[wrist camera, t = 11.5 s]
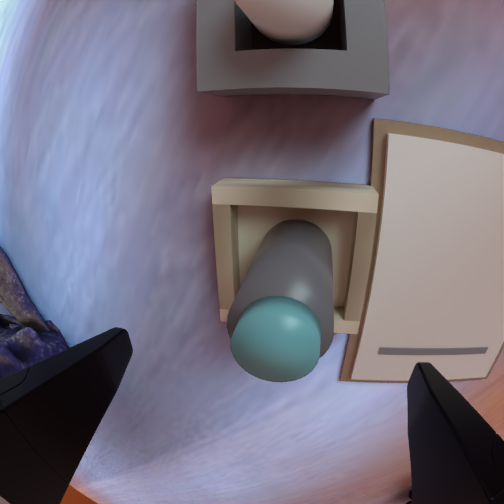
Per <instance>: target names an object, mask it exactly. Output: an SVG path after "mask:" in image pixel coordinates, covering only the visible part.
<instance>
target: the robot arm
mask: <svg viewBox="0 0 504 504" xmlns="http://www.w3.org/2000/svg"><path fill="white" fill-rule="evenodd" d="M132 352H133V349H132V345H131V341H130V338H129V335H128V332H127V330H125V329H122V328H118V327H115V328H112V329H110V330H108V331H106V332H104V333H101V334H99V335H97V336H95V337H93V338H90V339H88V340H86V341H84V342H82V343H80V344H77V345H75V346H73V347H71V348H69V349H66V350H64V351H62V352H60V353H58V354H55V355H53V356H51V357H49V358H47V359H44V360H42V361H40V362H38V363H35V364H33V365H31V367H30V366H29V367H26V368H24V369H22V370H20V371H17V372H15V373H13V374H10V375H8V376H5V377H2V378H0V504H60V503H61V500H62V498H63V496H64V494H65V492H66V490H67V488H68V485H69V483H70V481H71V479H72V477H73V475H74V473H75V471H76V469H77V467H78V465H79V463H80V461H81V459H82V457H83V455H84V453H85V451H86V449H87V447H88V445H89V443H90V441H91V439H92V437H93V435H94V433H95V431H96V429H97V427H98V426H99V424H100V422H101V420H102V418H103V416H104V414H105V412H106V410H107V409H108V407H109V405H110V403H111V401H112V399H113V397H114V395H115V394H116V392H117V389H118V387H119V385H120V382H121V380H122V378H123V375H124V373H125V370H126V368H127V366H128V363H129V361H130V358H131V356H132ZM407 398H408V439H409V450H410V461H411V476H412V496H413V504H504V441H503V439H502V438H501V437H500V436H499V435H498V434H496V432H495V431H494V430H493V428H492V427H491V426H490V425H489V424H488V423H487V422H486V421H485V420H484V419H483V417H482V416H481V415H480V414H479V413H478V412H477V411H476V410H475V409H474V408H473V407H472V406H471V405H470V403H469V402H468V401H467V400H466V399H465V398H464V397H463V396H462V395H461V394H460V393H459V392H458V391H457V390H456V389H455V388H454V387H453V386H452V385H451V384H450V382H449V381H448V380H447V379H446V378H445V377H444V376H443V375H442V374H441V373H440V372H439V371H438V370H437V369H436V368H435V367H434V366H433V365H432V364H431V363H429V362H418V363H416V365H415V366H414V369H413V371H412V374H411V376H410V379H409V381H408V385H407Z"/></svg>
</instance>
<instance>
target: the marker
mask: <svg viewBox="0 0 504 504" xmlns="http://www.w3.org/2000/svg"><path fill="white" fill-rule="evenodd" d="M227 329H228V333H229V336H230V338H231V351H232V354H233V356H234V358H235V360H236V361H237V363H238V364H239V365H240V366H241V367H242V368H243V369H244V370H245V371H247V372H248V373H250V374H251V375H253V376H255V377H258V378H260V379H263V380H267V381H272V382H288V381H293V380H297V379H300V378H302V377H304V376H306V375H307V374H309V373H310V372H311V371H312V370H313V369H314V368H315V366H316V365H317V363H318V360H319V358H321V357H322V356H323V355H324V354H325V353H326V351H327V350H328V349H329V347H330V345H331V343H332V340H333V336H334V291H333V262H332V247H331V243H330V241H329V239H328V237H327V235H326V234H325V233H324V231H323V230H322V229H321V228H319V227H318V226H317V225H315V224H313V223H311V222H309V221H306V220H301V219H290V220H285V221H282V222H280V223H278V224H276V225H275V226H273V227H272V228H271V229H270V230H269V231H268V232H267V234H266V235H265V237H264V239H263V241H262V244H261V246H260V248H259V250H258V252H257V254H256V256H255V258H254V260H253V262H252V264H251V266H250V268H249V270H248V272H247V274H246V276H245V278H244V280H243V282H242V285H241V287H240V289H239V291H238V293H237V295H236V297H235V299H234V301H233V303H232V305H231V307H230V309H229V312H228V315H227Z"/></svg>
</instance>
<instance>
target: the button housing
mask: <svg viewBox="0 0 504 504" xmlns="http://www.w3.org/2000/svg"><path fill="white" fill-rule="evenodd" d="M339 13H340V29H341V50H329V49H259V50H252V22H251V21H250V19H249V18H248V17H247V16H246V15H245V13H244V12H243V11H242V10H241V8H240V7H239V6H238V5H237V4H236V2H235V1H234V0H197V2H196V70H197V92H201V93H207V94H212V95H218V96H232V95H255V94H306V95H330V96H346V97H358V98H368V99H378V98H380V97H383V96H386V95H389V94H390V86H389V53H388V36H387V23H386V12H385V3H384V0H339Z"/></svg>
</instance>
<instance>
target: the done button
mask: <svg viewBox="0 0 504 504" xmlns="http://www.w3.org/2000/svg"><path fill="white" fill-rule="evenodd" d="M234 1H235V2H236V4H237V5H238V6H239V7H240V8H241V10H242V11H243V12H244V13H245V15H246V16H247V17H248V18H249V19H250V21H251V22H252V23H253V25H254V26H255V27H256V28H257V30H258V31H259V32H260V33H261V34H262V35H264V36H265V37H266V38H268V39H270V40H272V41H274V42H277V43H281V44H286V45H299V44H304V43H308V42H310V41H313V40H315V39H316V38H318V37H319V36H321V35H322V34H323V33H324V32H325V31H326V30H327V28H328V27H329V25H330V23H331V20H332V15H333V3H334V0H234Z"/></svg>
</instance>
